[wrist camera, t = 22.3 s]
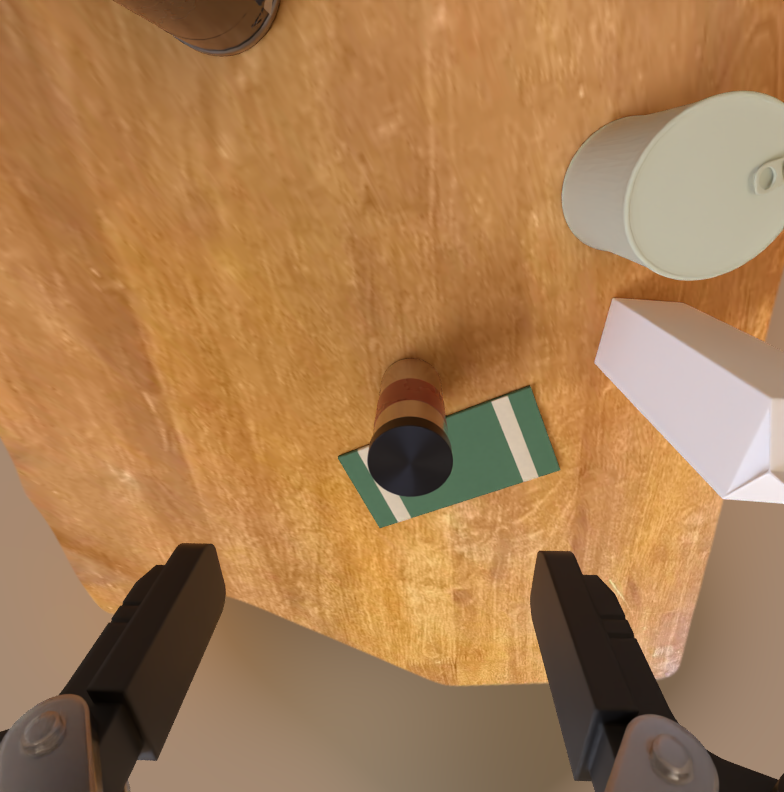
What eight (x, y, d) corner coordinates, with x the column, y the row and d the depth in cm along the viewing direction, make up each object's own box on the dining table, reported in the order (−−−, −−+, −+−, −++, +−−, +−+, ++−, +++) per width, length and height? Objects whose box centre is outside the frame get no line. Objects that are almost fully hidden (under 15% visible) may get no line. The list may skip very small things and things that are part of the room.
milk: (611, 296, 38) (827, 429, 18) (684, 302, 38) (982, 441, 18) (592, 364, 40) (762, 544, 21) (660, 369, 40) (897, 555, 21)
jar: (369, 399, 43) (354, 479, 32) (395, 346, 40) (387, 412, 29) (425, 422, 44) (429, 508, 33) (454, 371, 41) (468, 445, 30)
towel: (338, 455, 46) (337, 458, 46) (529, 385, 42) (530, 387, 41) (379, 525, 50) (379, 528, 49) (559, 468, 45) (560, 470, 45)
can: (694, 224, 35) (819, 247, 24) (574, 268, 37) (640, 307, 26) (681, 92, 31) (821, 50, 21) (548, 148, 33) (613, 136, 22)
